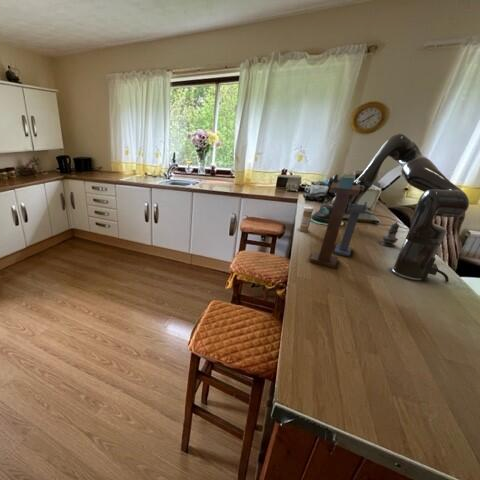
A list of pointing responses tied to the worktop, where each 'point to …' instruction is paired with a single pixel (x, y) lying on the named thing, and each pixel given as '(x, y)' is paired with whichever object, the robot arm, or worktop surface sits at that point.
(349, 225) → the blue grey stand
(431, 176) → the robot arm
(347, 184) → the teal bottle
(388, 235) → the dark grey figurine
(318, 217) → the dark green shoe
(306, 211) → the sprinkles bottle
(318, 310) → the worktop surface
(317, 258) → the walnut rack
